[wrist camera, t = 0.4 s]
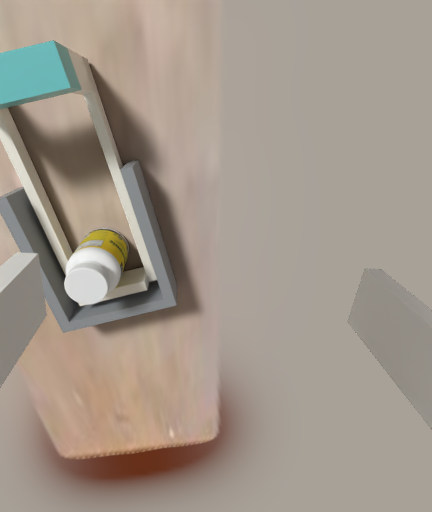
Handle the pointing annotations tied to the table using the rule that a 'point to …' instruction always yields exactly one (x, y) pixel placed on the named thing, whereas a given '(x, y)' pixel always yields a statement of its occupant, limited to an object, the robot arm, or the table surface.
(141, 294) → the grey u-shaped bracket
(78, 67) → the drawer
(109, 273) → the supplement bottle
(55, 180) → the table surface
